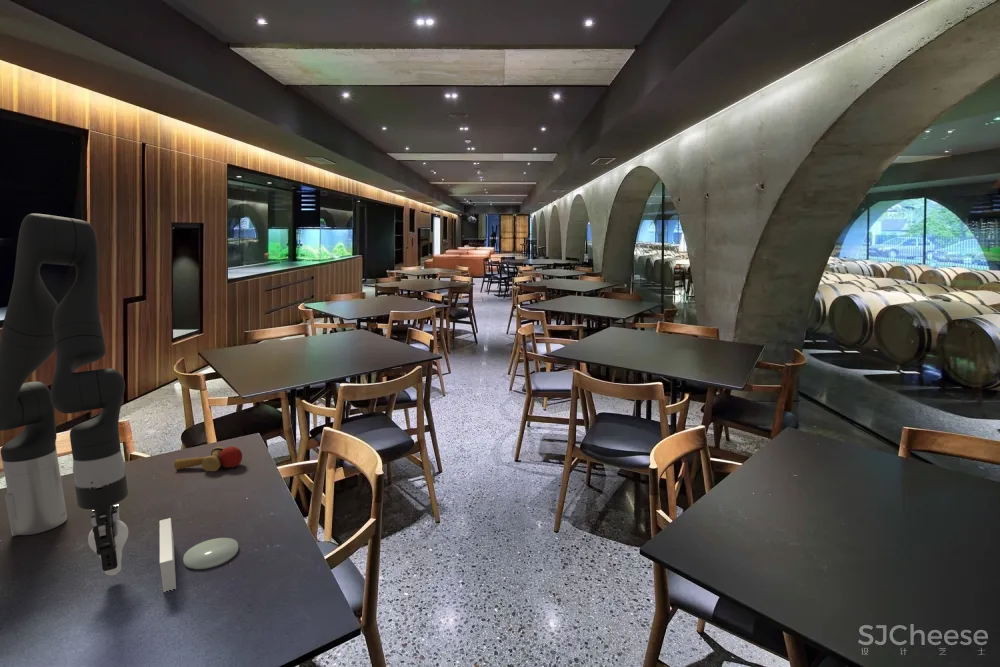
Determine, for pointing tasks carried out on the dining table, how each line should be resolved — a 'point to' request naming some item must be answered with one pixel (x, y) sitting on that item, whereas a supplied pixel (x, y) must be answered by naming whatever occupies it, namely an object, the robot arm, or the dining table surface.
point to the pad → (210, 553)
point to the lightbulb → (119, 541)
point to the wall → (167, 555)
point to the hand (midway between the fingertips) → (111, 560)
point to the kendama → (213, 459)
